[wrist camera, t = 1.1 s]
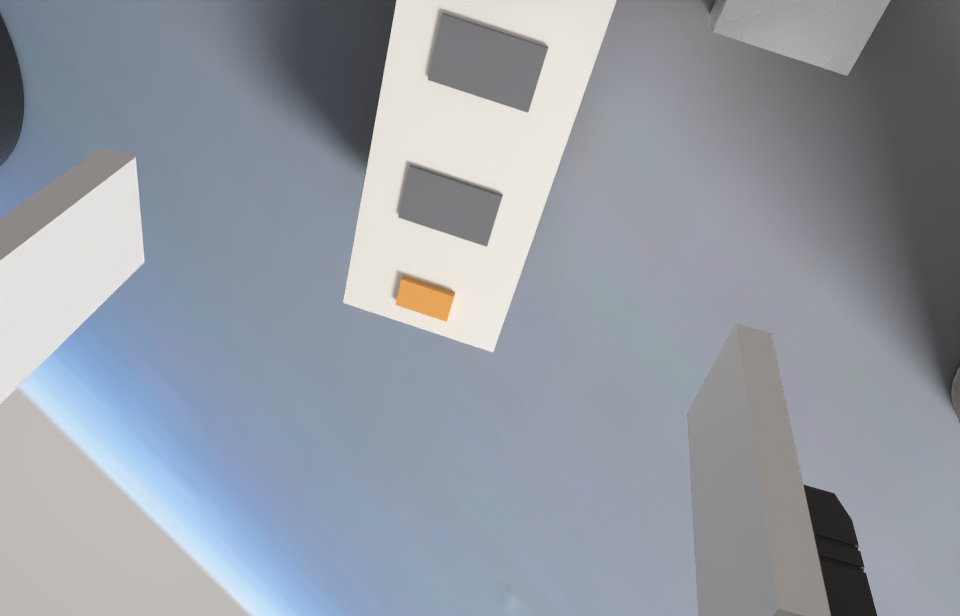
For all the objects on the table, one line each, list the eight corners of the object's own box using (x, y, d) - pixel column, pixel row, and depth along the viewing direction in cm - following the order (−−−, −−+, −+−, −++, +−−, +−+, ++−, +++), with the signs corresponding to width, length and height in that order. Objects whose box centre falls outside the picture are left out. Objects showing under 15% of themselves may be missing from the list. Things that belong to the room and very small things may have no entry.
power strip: (523, 253, 35) (491, 356, 28) (398, 211, 35) (340, 306, 28) (657, -138, 25) (654, -108, 19) (485, -193, 25) (426, -182, 19)
